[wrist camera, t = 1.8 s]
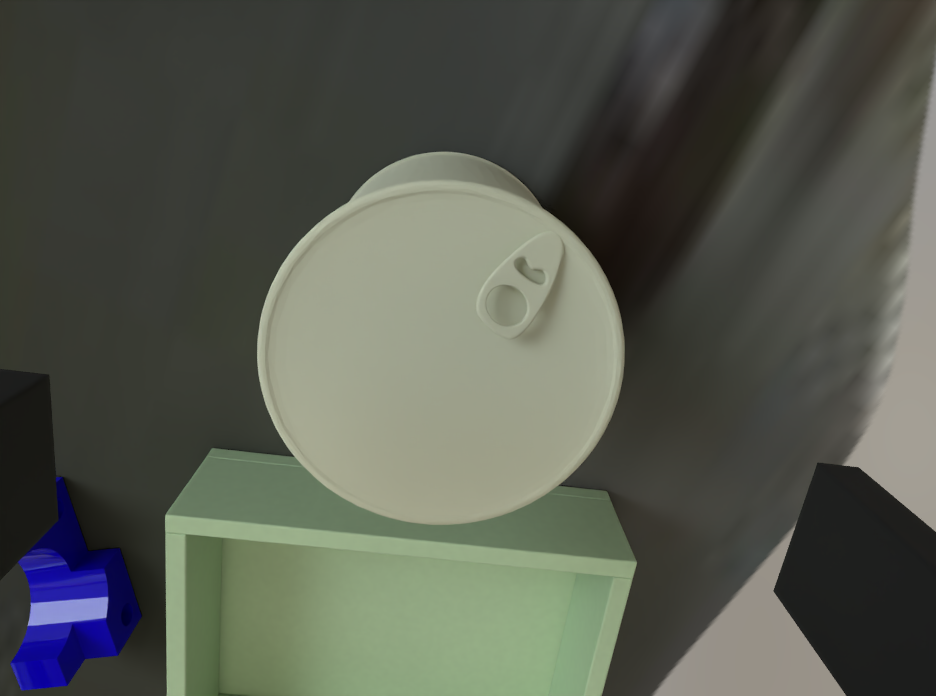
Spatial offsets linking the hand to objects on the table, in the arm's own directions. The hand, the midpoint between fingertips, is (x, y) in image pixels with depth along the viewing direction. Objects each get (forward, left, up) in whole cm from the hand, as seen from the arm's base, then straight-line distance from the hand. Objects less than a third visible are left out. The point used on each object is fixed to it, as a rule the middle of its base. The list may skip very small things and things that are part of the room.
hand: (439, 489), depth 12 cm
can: (0, 0, -17) cm, 17 cm away
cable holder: (+15, -15, -17) cm, 27 cm away
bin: (+16, 0, -17) cm, 23 cm away
